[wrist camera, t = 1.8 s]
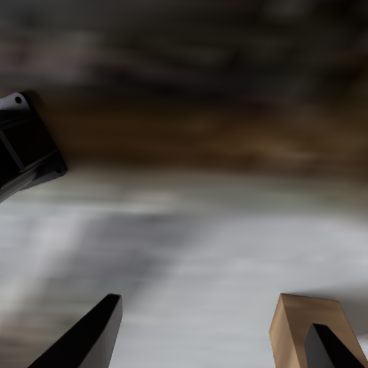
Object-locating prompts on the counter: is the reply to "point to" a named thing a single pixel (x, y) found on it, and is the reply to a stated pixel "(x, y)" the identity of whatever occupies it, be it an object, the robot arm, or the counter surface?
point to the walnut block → (307, 328)
